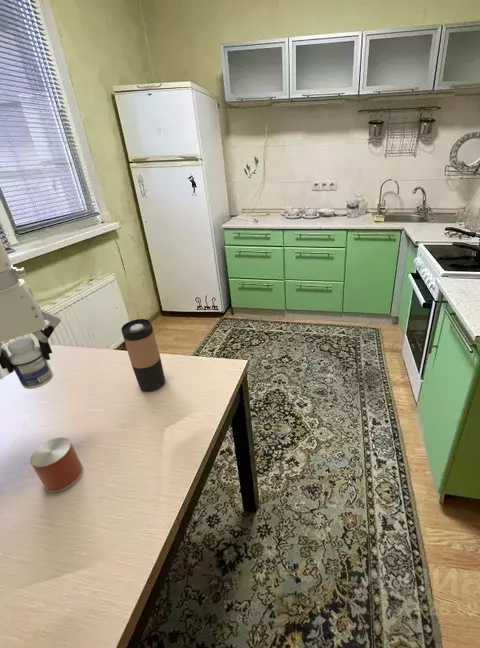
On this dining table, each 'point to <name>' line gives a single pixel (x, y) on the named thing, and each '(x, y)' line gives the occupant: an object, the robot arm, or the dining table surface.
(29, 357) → the pill bottle
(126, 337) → the travel mug
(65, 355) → the dining table surface
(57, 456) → the tin can
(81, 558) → the dining table surface
